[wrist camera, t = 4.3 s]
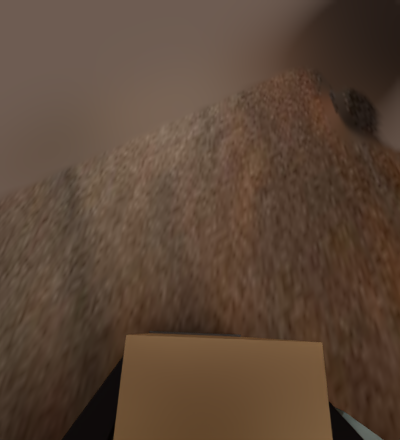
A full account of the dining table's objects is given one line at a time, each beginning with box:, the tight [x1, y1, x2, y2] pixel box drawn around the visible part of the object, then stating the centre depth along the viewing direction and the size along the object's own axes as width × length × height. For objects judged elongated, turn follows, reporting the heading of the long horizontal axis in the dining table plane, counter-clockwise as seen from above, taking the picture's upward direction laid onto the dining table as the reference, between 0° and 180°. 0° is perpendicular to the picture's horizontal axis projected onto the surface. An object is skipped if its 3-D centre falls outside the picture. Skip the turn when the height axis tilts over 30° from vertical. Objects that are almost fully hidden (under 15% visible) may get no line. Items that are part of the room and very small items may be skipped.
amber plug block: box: [113, 331, 333, 440], centre depth 10 cm, size 5×5×10 cm
